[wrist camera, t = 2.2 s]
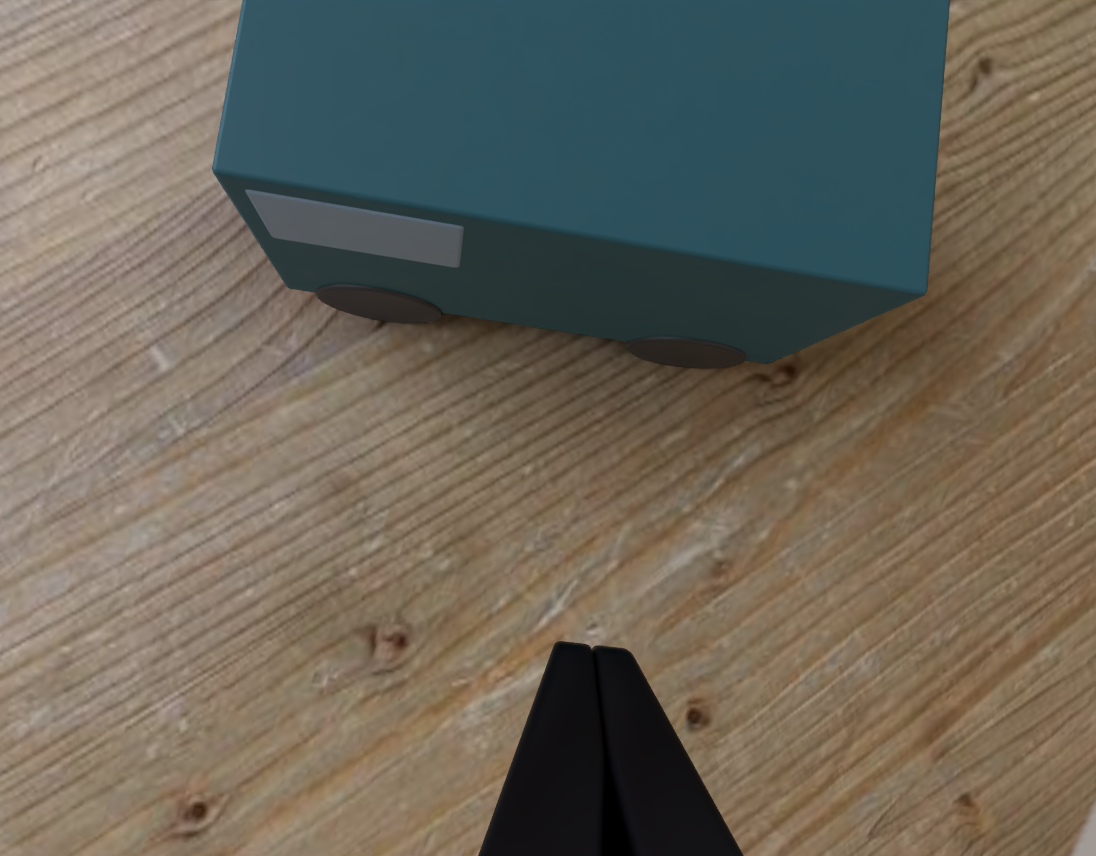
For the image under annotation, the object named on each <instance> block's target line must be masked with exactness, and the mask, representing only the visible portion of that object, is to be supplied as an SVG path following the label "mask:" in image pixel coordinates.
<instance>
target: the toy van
mask: <svg viewBox="0 0 1096 856" xmlns="http://www.w3.org/2000/svg"><path fill="white" fill-rule="evenodd" d="M949 6H950V0H243V2H242V7H241V13H240V18H239V24H238V29H237V34H236V40H235V45H234V51H233V56H232V62H231V67H230V73H229V78H228V84H227V89H226V95H225V100H224V106H223V111H222V117H221V122H220V128H219V133H218V139H217V144H216V150H215V155H214V161H213V166H212V170H213V173H214V175H215V176H216V178H217V179H218V181H219V182H220V184H221V185H222V187H223V189H224V190H225V192H226V193H227V195H228V196H229V198H230V199H231V201H232V202H233V204H234V206H235V207H236V209H237V210H238V212H239V213H240V215H241V216H242V218H243V219H244V221H245V223H246V224H247V226H248V227H249V229H250V230H251V232H252V233H253V235H254V237H255V238H256V240H257V241H258V243H259V244H260V246H261V247H262V249H263V250H264V252H265V254H266V255H267V257H268V258H269V260H270V261H271V263H272V264H273V266H274V267H275V269H276V271H277V272H278V274H279V275H280V277H281V278H282V280H283V281H284V283H285V284H286V286H287V287H288V288H290V289H296V290H303V291H309V292H315V293H316V295H317V297H318V299H320V300H321V301H322V302H324V303H325V304H327V305H329V306H331V307H333V308H336V309H338V310H341V311H344V312H347V313H350V314H353V315H357V316H361V317H366V318H370V319H375V320H381V321H388V322H396V323H428V322H433V321H437V320H439V319H440V318H441V316H442V314H443V313H448V314H454V315H461V316H467V317H473V318H480V319H486V320H492V321H499V322H505V323H511V324H518V325H524V326H530V327H537V328H543V329H549V330H556V331H562V332H568V333H575V334H581V335H587V336H594V337H600V338H606V339H613V340H619V341H625V342H626V348H627V351H628V352H629V353H631V354H632V355H634V356H636V357H639V358H641V359H644V360H647V361H651V362H655V363H659V364H665V365H671V366H678V367H688V368H725V367H731V366H736V365H739V364H742V363H743V362H744V361H752V362H758V363H764V364H769V363H772V362H774V361H776V360H778V359H781V358H783V357H785V356H787V355H790V354H792V353H794V352H797V351H799V350H801V349H803V348H806V347H808V346H810V345H812V344H815V343H817V342H819V341H822V340H824V339H826V338H828V337H831V336H833V335H835V334H837V333H840V332H842V331H844V330H847V329H849V328H851V327H853V326H856V325H858V324H860V323H863V322H865V321H867V320H869V319H872V318H874V317H876V316H878V315H881V314H883V313H885V312H888V311H890V310H892V309H894V308H897V307H899V306H901V305H903V304H906V303H908V302H910V301H913V300H915V299H917V298H919V297H922V296H924V295H925V294H926V292H927V285H928V273H929V260H930V247H931V235H932V222H933V209H934V197H935V184H936V171H937V159H938V146H939V133H940V121H941V108H942V95H943V83H944V70H945V57H946V44H947V32H948V19H949Z"/></svg>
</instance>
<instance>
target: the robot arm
mask: <svg viewBox="0 0 1096 856" xmlns="http://www.w3.org/2000/svg"><path fill="white" fill-rule="evenodd" d="M478 856H743V854H742V852H741V850H740V848H739V847H738V845H737V843H736V841H735V839H734V838H733V836H732V834H731V832H730V830H729V828H728V827H727V825H726V823H725V821H724V819H723V818H722V816H721V814H720V812H719V810H718V809H717V807H716V805H715V803H714V801H713V799H712V798H711V796H710V794H709V792H708V790H707V789H706V787H705V785H704V783H703V781H702V779H701V778H700V776H699V774H698V772H697V770H696V769H695V767H694V765H693V763H692V761H691V760H690V758H689V756H688V754H687V752H686V750H685V749H684V747H683V745H682V743H681V741H680V740H679V738H678V736H677V734H676V732H675V731H674V729H673V727H672V725H671V723H670V721H669V720H668V718H667V716H666V714H665V712H664V711H663V709H662V707H661V705H660V703H659V701H658V700H657V698H656V696H655V694H654V692H653V691H652V689H651V687H650V685H649V683H648V682H647V680H646V678H645V676H644V674H643V672H642V671H641V669H640V667H639V665H638V663H637V662H636V660H635V658H634V656H633V655H632V653H631V652H629V651H628V650H627V649H624V648H617V647H608V646H595V647H593V648H592V649H591V647H590V646H589V645H587V644H582V643H573V642H564V641H558V642H556V643H555V645H554V647H553V649H552V652H551V655H550V658H549V660H548V663H547V666H546V669H545V672H544V674H543V677H542V680H541V683H540V685H539V688H538V691H537V694H536V697H535V699H534V702H533V705H532V708H531V710H530V713H529V716H528V719H527V722H526V724H525V727H524V730H523V733H522V736H521V738H520V741H519V744H518V747H517V749H516V752H515V755H514V758H513V761H512V763H511V766H510V769H509V772H508V774H507V777H506V780H505V783H504V786H503V788H502V791H501V794H500V797H499V799H498V802H497V805H496V808H495V811H494V813H493V816H492V819H491V822H490V825H489V827H488V830H487V833H486V836H485V838H484V841H483V844H482V847H481V850H480V852H479V855H478Z"/></svg>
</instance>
